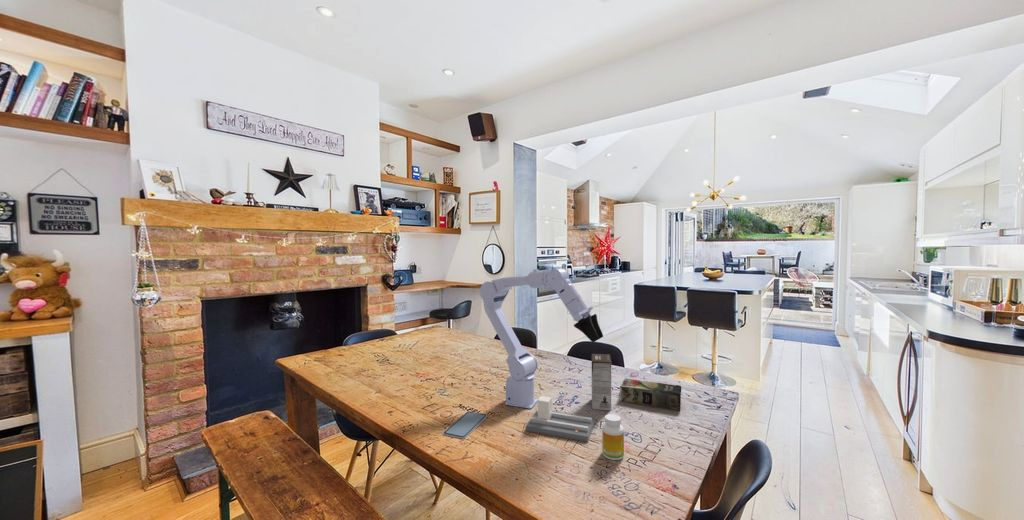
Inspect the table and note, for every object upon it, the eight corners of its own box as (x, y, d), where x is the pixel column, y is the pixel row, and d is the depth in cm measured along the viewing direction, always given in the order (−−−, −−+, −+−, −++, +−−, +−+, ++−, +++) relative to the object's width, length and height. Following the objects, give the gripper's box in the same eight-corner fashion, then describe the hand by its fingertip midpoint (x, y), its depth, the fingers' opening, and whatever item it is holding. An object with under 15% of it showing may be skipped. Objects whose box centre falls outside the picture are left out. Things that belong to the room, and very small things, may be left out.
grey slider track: (525, 430, 106) (525, 422, 106) (538, 413, 118) (538, 405, 117) (588, 442, 100) (588, 433, 100) (594, 422, 111) (594, 414, 111)
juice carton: (616, 401, 127) (616, 383, 127) (621, 391, 136) (621, 375, 135) (680, 413, 118) (680, 394, 118) (681, 402, 127) (681, 384, 127)
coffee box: (591, 398, 129) (591, 353, 129) (610, 399, 128) (610, 354, 127) (591, 409, 120) (591, 360, 120) (612, 411, 119) (611, 362, 118)
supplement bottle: (626, 460, 91) (626, 422, 91) (604, 460, 91) (604, 422, 91) (620, 449, 96) (620, 412, 96) (600, 449, 96) (599, 412, 96)
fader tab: (537, 419, 109) (537, 400, 109) (541, 414, 113) (541, 395, 113) (548, 421, 108) (548, 402, 108) (552, 415, 112) (551, 397, 112)
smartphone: (441, 433, 105) (467, 410, 119) (441, 436, 105) (467, 413, 119) (464, 438, 102) (488, 414, 116) (464, 441, 102) (488, 417, 116)
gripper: (578, 294, 107) (605, 334, 103) (588, 294, 120) (612, 330, 116) (559, 307, 109) (585, 347, 105) (571, 306, 122) (594, 342, 118)
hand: (598, 339), depth 110 cm, fingers open, 7 cm apart
